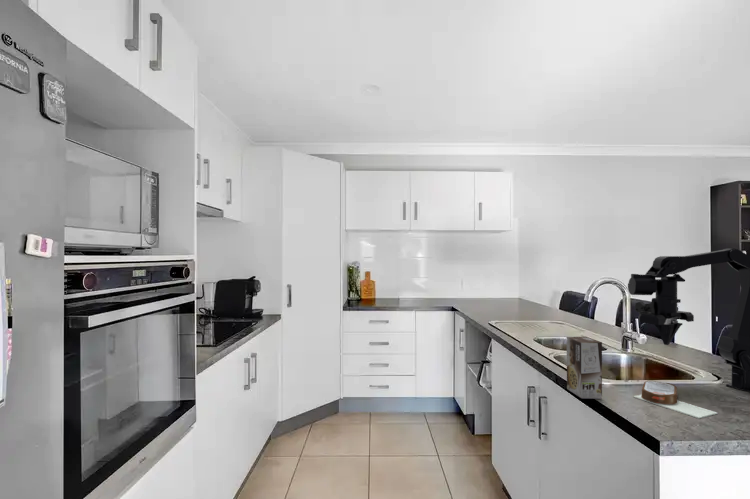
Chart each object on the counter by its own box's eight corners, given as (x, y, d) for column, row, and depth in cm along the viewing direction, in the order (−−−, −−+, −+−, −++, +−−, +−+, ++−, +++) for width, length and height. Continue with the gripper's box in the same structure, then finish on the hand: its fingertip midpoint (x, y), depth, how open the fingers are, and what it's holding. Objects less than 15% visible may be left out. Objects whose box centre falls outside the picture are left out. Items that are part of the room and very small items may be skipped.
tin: (677, 392, 125) (644, 388, 130) (676, 381, 125) (643, 378, 130) (677, 406, 112) (640, 402, 117) (676, 395, 113) (639, 391, 118)
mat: (651, 393, 124) (651, 392, 124) (717, 413, 109) (717, 412, 109) (633, 397, 121) (633, 396, 121) (699, 418, 105) (699, 417, 105)
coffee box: (603, 398, 120) (603, 342, 120) (580, 399, 119) (580, 342, 120) (586, 388, 129) (586, 335, 129) (565, 388, 129) (565, 335, 129)
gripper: (659, 292, 145) (659, 337, 145) (622, 294, 137) (622, 342, 137) (694, 295, 134) (694, 344, 134) (657, 297, 127) (657, 349, 127)
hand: (666, 344), depth 133 cm, fingers closed
